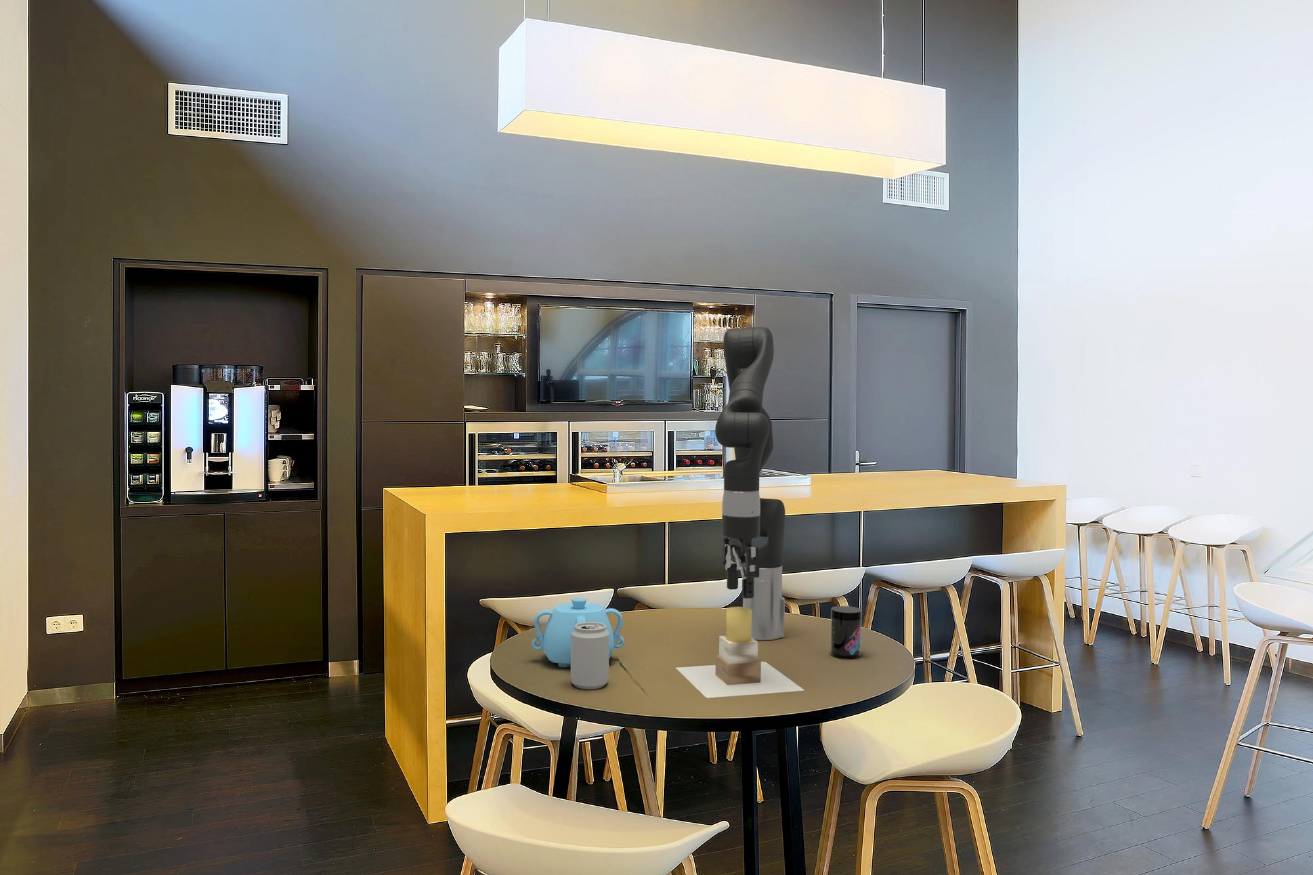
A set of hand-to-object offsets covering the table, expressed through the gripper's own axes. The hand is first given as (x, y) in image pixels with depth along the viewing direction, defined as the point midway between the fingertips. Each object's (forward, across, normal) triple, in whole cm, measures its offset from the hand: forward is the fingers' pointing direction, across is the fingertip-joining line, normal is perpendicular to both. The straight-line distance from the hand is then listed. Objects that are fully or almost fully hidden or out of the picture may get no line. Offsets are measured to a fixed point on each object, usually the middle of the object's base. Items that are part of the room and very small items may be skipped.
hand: (739, 593), depth 185 cm
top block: (+13, 0, 0) cm, 13 cm away
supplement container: (+19, +14, -31) cm, 39 cm away
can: (+18, +6, +29) cm, 35 cm away
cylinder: (+9, 0, 0) cm, 9 cm away
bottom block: (+17, 0, 0) cm, 17 cm away
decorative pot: (+18, +23, +28) cm, 41 cm away
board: (+18, 0, 0) cm, 18 cm away
